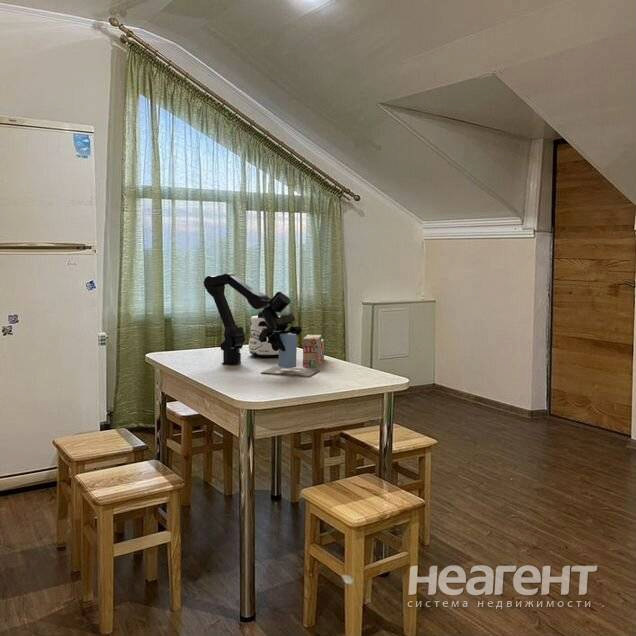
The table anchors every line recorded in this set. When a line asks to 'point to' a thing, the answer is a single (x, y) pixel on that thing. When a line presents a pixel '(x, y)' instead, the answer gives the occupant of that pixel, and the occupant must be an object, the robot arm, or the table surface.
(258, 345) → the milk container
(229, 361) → the robot arm
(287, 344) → the blue pillar
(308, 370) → the letter board
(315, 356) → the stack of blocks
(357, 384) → the table surface
